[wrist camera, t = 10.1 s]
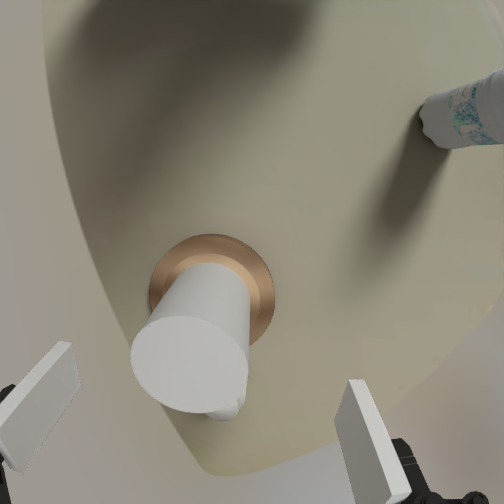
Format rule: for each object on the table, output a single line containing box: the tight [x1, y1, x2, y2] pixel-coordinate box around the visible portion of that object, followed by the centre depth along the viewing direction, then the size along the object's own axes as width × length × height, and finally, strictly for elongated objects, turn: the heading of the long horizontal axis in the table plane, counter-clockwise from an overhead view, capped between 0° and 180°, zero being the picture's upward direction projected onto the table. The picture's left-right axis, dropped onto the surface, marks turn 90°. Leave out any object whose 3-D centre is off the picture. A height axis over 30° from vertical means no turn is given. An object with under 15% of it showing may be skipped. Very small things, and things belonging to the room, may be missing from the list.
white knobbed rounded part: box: [205, 387, 246, 421], centre depth 33 cm, size 5×5×7 cm
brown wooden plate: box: [149, 234, 275, 346], centre depth 33 cm, size 13×13×2 cm
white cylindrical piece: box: [130, 263, 250, 413], centre depth 26 cm, size 8×8×12 cm
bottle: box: [419, 67, 504, 149], centre depth 19 cm, size 7×7×20 cm
